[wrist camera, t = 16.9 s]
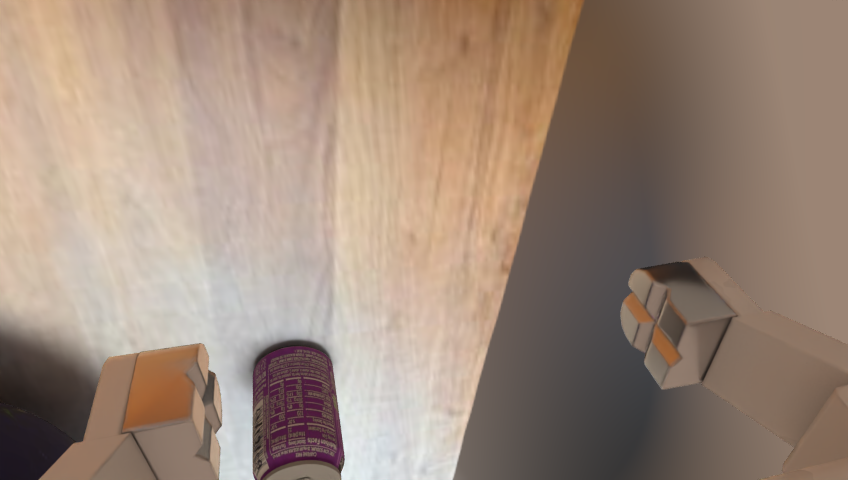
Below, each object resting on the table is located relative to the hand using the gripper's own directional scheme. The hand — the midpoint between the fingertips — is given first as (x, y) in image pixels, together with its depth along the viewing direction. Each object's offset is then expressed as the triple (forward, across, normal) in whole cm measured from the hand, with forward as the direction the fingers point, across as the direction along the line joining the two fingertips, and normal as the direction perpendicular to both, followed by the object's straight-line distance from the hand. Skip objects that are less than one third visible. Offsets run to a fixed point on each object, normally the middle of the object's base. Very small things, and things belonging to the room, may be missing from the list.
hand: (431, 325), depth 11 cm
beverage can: (+29, +6, +34) cm, 45 cm away
